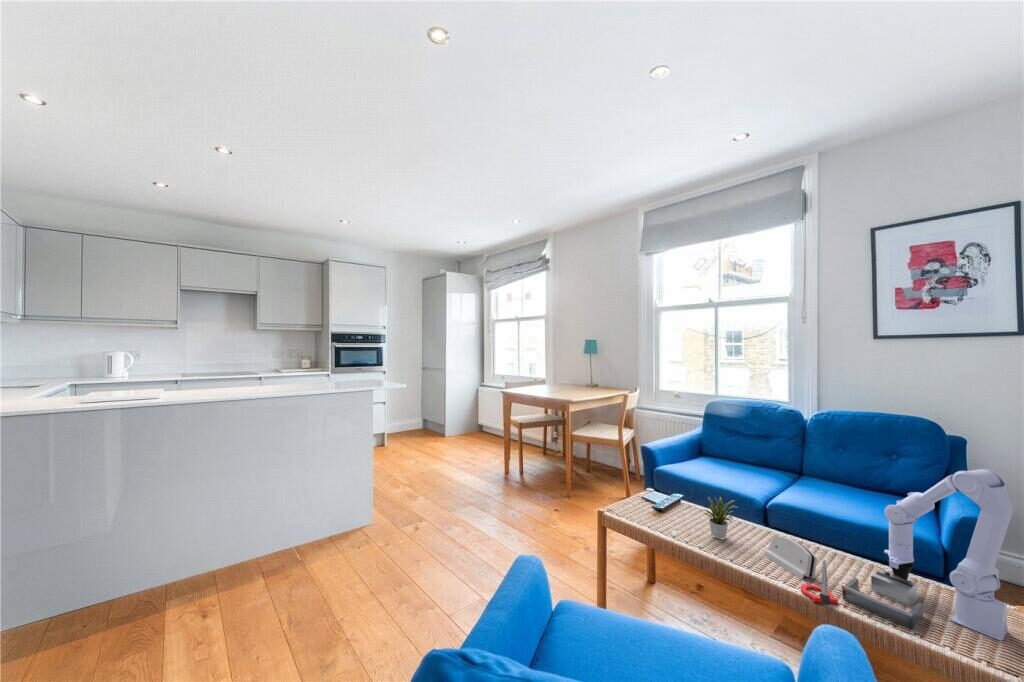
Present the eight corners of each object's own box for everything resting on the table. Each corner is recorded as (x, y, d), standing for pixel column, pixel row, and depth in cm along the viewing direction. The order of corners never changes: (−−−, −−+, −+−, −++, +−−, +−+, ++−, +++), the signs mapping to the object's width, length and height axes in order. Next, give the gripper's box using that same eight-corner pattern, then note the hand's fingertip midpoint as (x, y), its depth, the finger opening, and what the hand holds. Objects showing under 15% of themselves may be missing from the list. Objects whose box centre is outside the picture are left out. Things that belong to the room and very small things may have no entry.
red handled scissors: (795, 586, 134) (811, 603, 125) (794, 546, 135) (810, 560, 125) (823, 589, 133) (841, 606, 123) (822, 549, 133) (840, 562, 124)
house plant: (747, 538, 166) (747, 498, 166) (733, 549, 157) (733, 507, 157) (711, 526, 177) (711, 488, 177) (697, 535, 168) (697, 496, 168)
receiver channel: (923, 616, 119) (922, 601, 119) (911, 629, 113) (911, 614, 113) (854, 588, 132) (854, 575, 132) (841, 599, 127) (841, 585, 127)
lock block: (917, 600, 127) (917, 582, 127) (908, 606, 123) (908, 588, 123) (881, 584, 135) (881, 568, 135) (871, 590, 131) (871, 573, 131)
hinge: (762, 554, 153) (770, 529, 154) (773, 557, 154) (780, 532, 155) (802, 580, 137) (810, 551, 138) (813, 583, 138) (821, 554, 138)
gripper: (892, 531, 140) (892, 571, 140) (876, 542, 132) (877, 584, 132) (920, 540, 134) (920, 581, 134) (906, 552, 126) (906, 595, 126)
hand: (900, 583), depth 133 cm, fingers closed
